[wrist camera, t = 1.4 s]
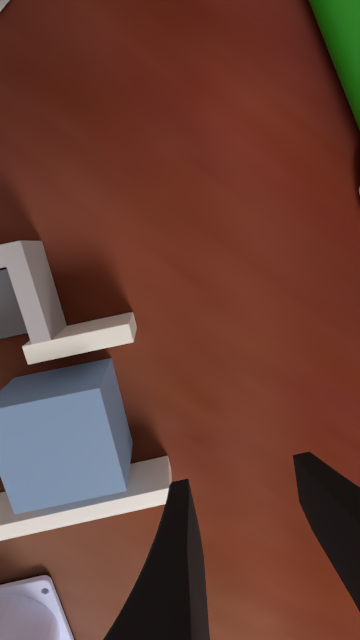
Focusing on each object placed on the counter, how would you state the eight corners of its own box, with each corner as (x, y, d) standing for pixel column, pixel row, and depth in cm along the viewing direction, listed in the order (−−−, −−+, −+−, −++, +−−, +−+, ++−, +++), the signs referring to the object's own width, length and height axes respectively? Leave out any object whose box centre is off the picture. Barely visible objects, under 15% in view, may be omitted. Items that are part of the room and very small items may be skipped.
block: (132, 441, 22) (126, 490, 18) (43, 459, 22) (14, 514, 17) (111, 357, 21) (99, 388, 16) (15, 376, 20) (-24, 412, 16)
